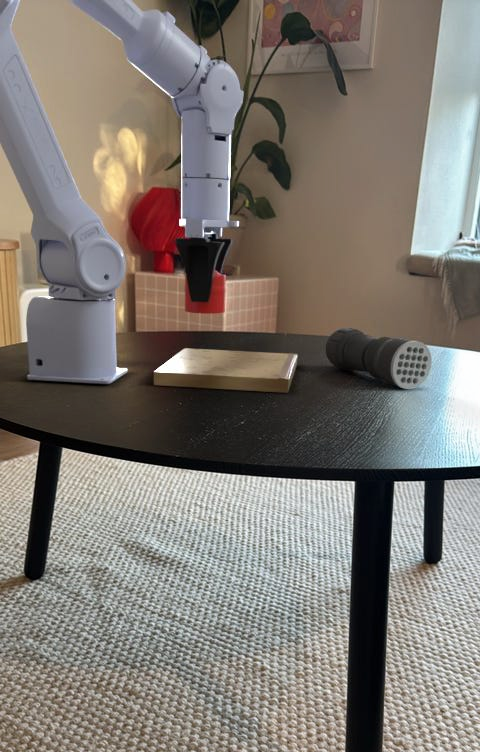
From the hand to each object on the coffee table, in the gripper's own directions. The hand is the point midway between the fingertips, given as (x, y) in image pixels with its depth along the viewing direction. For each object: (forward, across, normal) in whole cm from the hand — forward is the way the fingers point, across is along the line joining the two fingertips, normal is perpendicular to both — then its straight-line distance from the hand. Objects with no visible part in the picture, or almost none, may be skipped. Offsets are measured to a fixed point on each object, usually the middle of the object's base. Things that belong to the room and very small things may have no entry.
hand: (203, 299), depth 93 cm
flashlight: (+8, -2, -22) cm, 23 cm away
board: (+8, -5, -4) cm, 10 cm away
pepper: (+1, 0, 0) cm, 1 cm away
